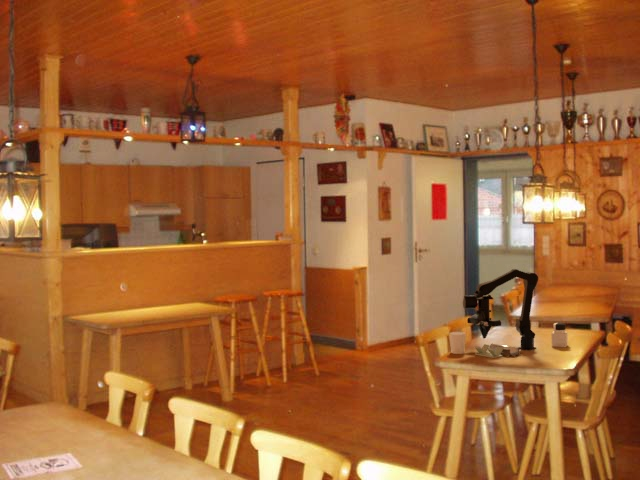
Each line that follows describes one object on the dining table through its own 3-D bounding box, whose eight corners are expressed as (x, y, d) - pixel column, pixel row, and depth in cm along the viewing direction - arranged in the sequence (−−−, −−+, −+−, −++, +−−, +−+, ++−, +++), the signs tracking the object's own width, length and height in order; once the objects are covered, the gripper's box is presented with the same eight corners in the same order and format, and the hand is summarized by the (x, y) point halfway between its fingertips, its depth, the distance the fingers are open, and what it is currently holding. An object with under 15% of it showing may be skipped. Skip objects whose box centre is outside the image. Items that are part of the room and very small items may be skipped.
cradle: (485, 352, 385) (485, 344, 385) (503, 356, 375) (503, 347, 375) (474, 354, 381) (474, 346, 381) (492, 358, 371) (492, 349, 371)
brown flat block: (506, 352, 385) (505, 345, 385) (519, 354, 378) (519, 347, 378) (494, 354, 380) (494, 347, 380) (508, 356, 373) (507, 349, 373)
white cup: (465, 354, 382) (465, 334, 382) (449, 354, 384) (449, 334, 383) (465, 351, 390) (465, 332, 389) (450, 351, 391) (449, 331, 391)
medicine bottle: (567, 345, 399) (567, 322, 399) (565, 347, 393) (565, 324, 393) (553, 344, 402) (553, 321, 402) (551, 346, 396) (551, 323, 396)
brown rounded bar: (489, 352, 386) (489, 343, 386) (495, 351, 389) (495, 342, 388) (512, 356, 374) (512, 347, 374) (518, 355, 376) (518, 346, 376)
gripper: (459, 308, 394) (460, 337, 395) (486, 311, 379) (486, 342, 379) (474, 305, 400) (475, 335, 401) (501, 309, 385) (502, 339, 386)
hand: (484, 338), depth 392 cm, fingers closed
